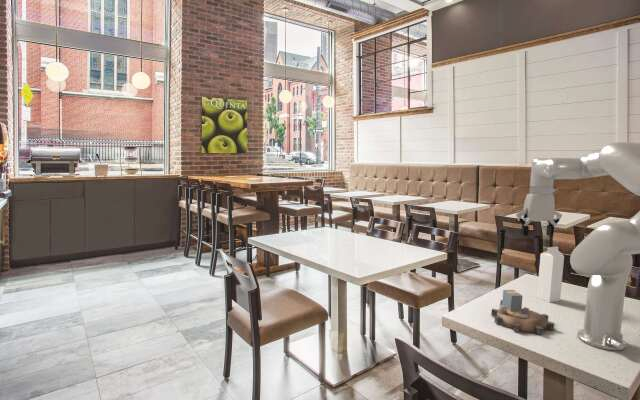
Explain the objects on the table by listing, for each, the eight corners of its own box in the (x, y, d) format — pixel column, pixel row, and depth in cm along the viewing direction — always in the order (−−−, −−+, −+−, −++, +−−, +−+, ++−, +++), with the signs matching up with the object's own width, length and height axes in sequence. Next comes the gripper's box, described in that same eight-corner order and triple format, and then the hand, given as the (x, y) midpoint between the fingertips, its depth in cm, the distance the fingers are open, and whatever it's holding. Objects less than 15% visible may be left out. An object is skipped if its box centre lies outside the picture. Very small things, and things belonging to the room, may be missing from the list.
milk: (536, 297, 162) (540, 245, 160) (547, 295, 164) (551, 244, 162) (549, 302, 157) (554, 249, 154) (560, 301, 159) (565, 248, 156)
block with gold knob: (507, 310, 149) (508, 299, 148) (503, 310, 149) (504, 299, 148) (504, 307, 151) (504, 296, 150) (500, 307, 151) (500, 296, 150)
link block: (521, 311, 141) (522, 295, 141) (510, 311, 141) (511, 295, 140) (512, 305, 147) (513, 289, 147) (502, 305, 147) (503, 289, 146)
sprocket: (556, 319, 140) (557, 307, 139) (549, 340, 124) (551, 326, 123) (497, 306, 151) (498, 295, 151) (485, 323, 136) (485, 311, 135)
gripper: (556, 190, 151) (552, 233, 153) (513, 189, 150) (509, 233, 152) (569, 192, 143) (565, 238, 145) (524, 191, 143) (520, 237, 145)
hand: (537, 235), depth 149 cm, fingers open, 9 cm apart
